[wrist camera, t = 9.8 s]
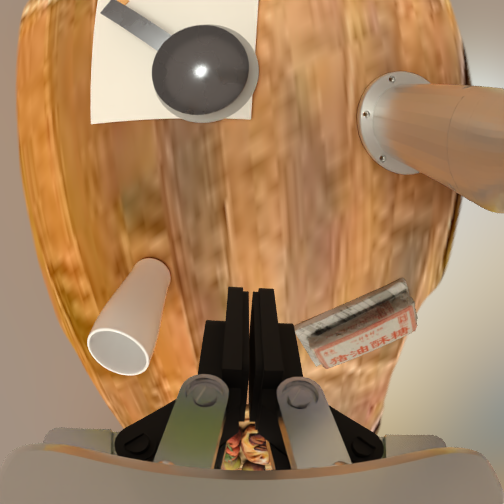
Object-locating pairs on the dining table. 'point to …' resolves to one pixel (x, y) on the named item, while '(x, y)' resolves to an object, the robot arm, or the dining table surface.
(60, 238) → the dining table surface
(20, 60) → the dining table surface
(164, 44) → the dial
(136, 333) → the drinking glass
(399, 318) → the packaged product
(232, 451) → the wooden plate with food
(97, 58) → the dial base
